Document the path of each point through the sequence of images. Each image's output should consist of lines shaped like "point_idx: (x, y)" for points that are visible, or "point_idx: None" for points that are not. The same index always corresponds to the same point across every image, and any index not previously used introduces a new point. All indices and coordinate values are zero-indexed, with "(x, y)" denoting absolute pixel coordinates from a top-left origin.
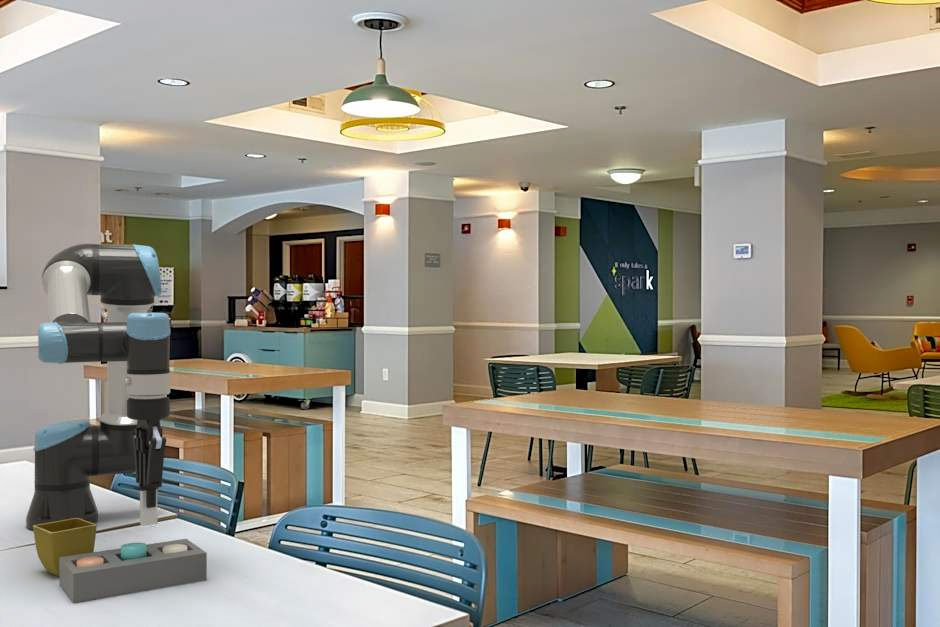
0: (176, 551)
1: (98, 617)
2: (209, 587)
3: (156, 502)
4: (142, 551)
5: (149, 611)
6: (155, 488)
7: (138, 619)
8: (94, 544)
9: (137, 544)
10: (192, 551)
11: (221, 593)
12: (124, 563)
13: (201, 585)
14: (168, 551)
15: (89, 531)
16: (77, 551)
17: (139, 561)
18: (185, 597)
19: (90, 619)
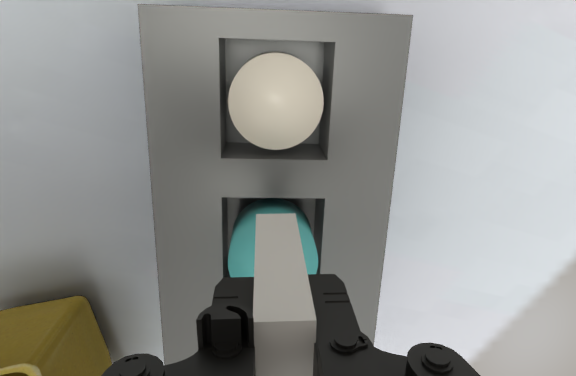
0: (321, 111)
1: (482, 334)
2: (460, 42)
3: (304, 270)
4: (312, 236)
5: (527, 240)
6: (387, 360)
7: (559, 272)
8: (64, 320)
9: None
10: (359, 57)
11: (538, 33)
12: (354, 292)
13: (425, 56)
14: (306, 138)
15: (55, 373)
16: (90, 360)
17: (363, 251)
18: (494, 134)
19: (482, 348)
